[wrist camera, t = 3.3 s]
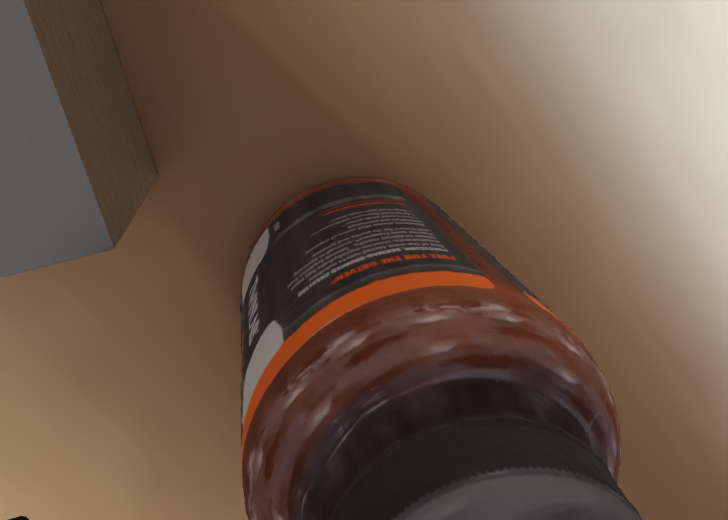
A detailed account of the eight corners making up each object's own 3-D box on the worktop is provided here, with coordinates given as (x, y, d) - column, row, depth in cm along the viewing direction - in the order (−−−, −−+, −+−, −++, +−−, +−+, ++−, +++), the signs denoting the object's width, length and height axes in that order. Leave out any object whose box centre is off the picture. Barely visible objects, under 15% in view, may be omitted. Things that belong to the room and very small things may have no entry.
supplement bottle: (191, 276, 18) (109, 642, 7) (369, 122, 17) (568, 267, 7) (341, 423, 20) (453, 878, 9) (504, 288, 19) (823, 603, 9)
